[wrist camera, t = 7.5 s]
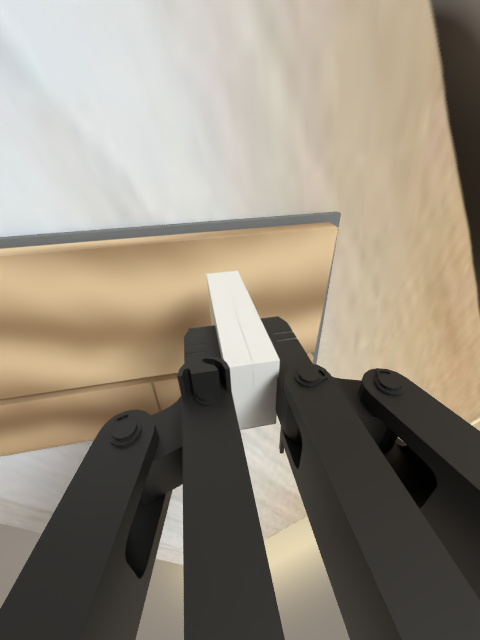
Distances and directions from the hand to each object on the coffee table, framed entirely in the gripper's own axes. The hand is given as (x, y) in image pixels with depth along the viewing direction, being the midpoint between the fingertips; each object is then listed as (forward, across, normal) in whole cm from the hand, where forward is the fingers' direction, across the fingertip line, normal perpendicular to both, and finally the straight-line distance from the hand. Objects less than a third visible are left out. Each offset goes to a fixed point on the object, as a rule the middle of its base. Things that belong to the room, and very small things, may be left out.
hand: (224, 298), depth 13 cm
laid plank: (+6, -7, -11) cm, 15 cm away
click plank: (+5, -7, -3) cm, 9 cm away
